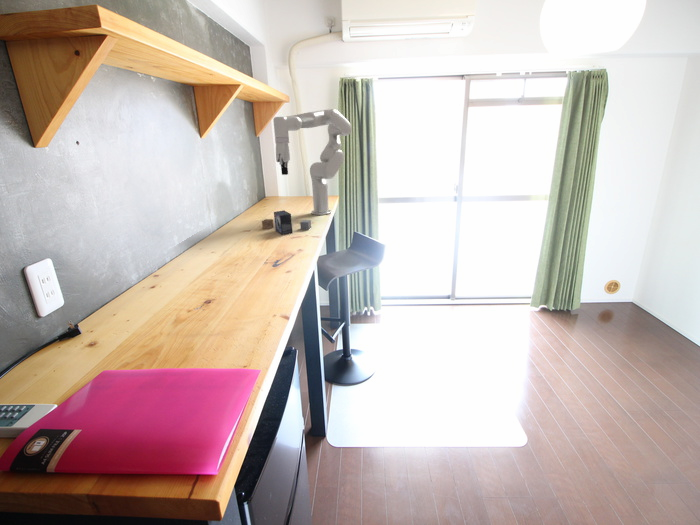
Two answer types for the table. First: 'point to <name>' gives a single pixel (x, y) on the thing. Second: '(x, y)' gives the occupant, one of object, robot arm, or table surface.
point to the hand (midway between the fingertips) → (285, 174)
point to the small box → (283, 222)
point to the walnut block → (267, 223)
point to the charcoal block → (305, 224)
